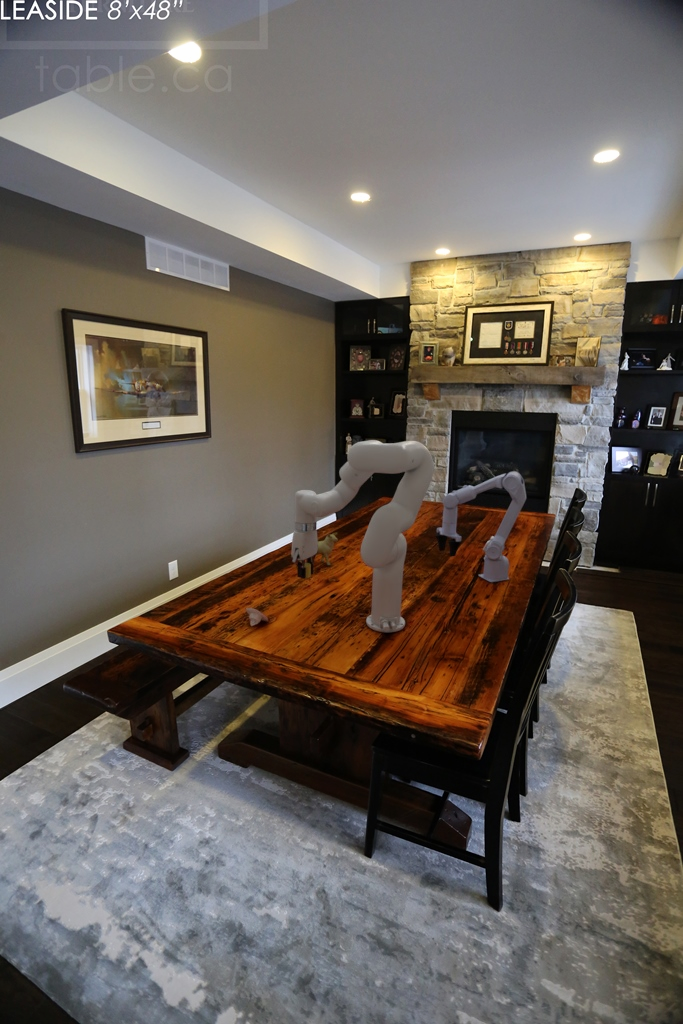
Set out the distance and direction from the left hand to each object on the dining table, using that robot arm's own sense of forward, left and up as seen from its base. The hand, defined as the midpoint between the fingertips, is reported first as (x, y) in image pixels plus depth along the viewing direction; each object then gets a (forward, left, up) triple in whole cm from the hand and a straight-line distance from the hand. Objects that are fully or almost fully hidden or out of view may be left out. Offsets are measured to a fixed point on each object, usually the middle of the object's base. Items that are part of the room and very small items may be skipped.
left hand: (305, 575), depth 177 cm
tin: (0, 0, 0) cm, 0 cm away
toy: (+37, -6, -10) cm, 39 cm away
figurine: (+40, -83, -10) cm, 93 cm away
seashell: (-18, +16, -10) cm, 25 cm away
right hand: (+28, -60, -2) cm, 66 cm away
